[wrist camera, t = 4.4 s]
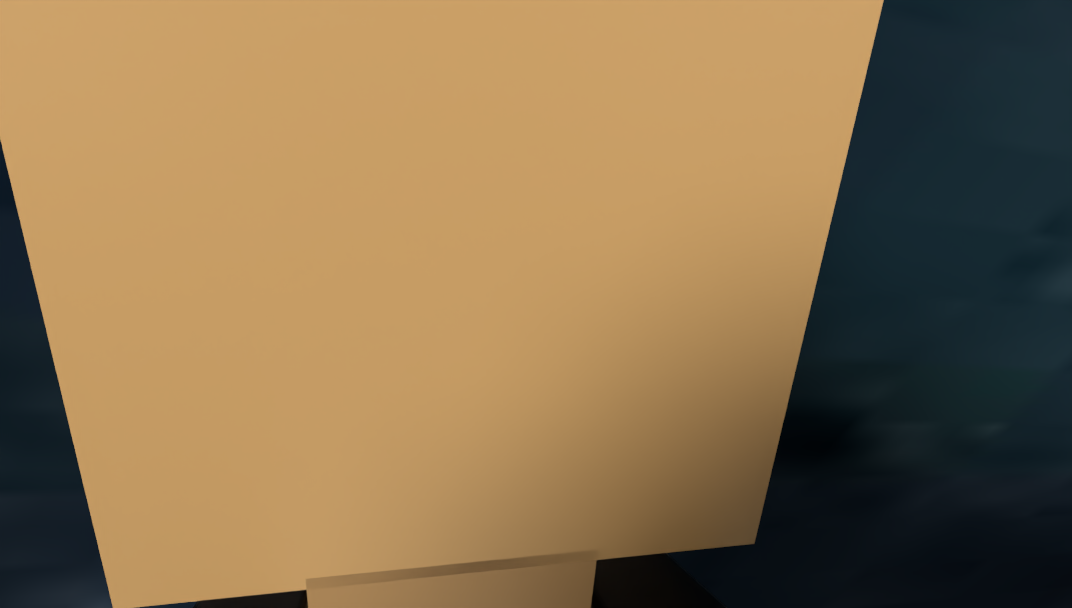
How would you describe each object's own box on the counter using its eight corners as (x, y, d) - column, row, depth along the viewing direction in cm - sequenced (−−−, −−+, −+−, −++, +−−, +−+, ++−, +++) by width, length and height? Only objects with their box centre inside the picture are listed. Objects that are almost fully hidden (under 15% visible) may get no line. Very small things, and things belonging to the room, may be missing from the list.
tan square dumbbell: (679, -152, 7) (911, -112, 4) (570, 748, 13) (639, 1027, 10) (110, -186, 7) (-72, -164, 4) (257, 793, 12) (234, 1113, 9)
